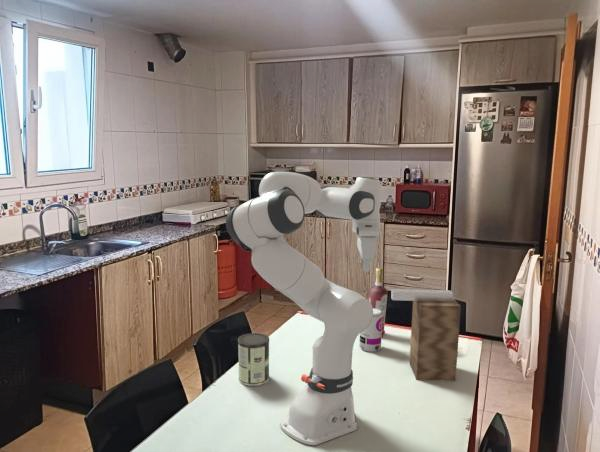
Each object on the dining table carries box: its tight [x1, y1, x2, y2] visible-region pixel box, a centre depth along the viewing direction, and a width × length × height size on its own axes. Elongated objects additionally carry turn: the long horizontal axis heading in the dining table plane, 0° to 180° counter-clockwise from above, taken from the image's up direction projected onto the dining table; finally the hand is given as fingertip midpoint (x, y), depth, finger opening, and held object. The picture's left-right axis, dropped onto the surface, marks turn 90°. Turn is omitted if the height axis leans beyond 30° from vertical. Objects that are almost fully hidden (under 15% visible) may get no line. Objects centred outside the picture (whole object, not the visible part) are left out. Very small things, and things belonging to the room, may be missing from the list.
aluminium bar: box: [390, 288, 454, 302], centre depth 168 cm, size 20×3×3 cm, turn 89°
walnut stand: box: [409, 297, 462, 382], centre depth 170 cm, size 13×12×26 cm
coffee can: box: [237, 332, 270, 387], centre depth 164 cm, size 10×10×14 cm
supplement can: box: [358, 308, 383, 353], centre depth 191 cm, size 8×8×15 cm
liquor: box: [368, 267, 389, 336], centre depth 203 cm, size 7×7×28 cm
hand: (364, 267), depth 165 cm, fingers open, 8 cm apart
